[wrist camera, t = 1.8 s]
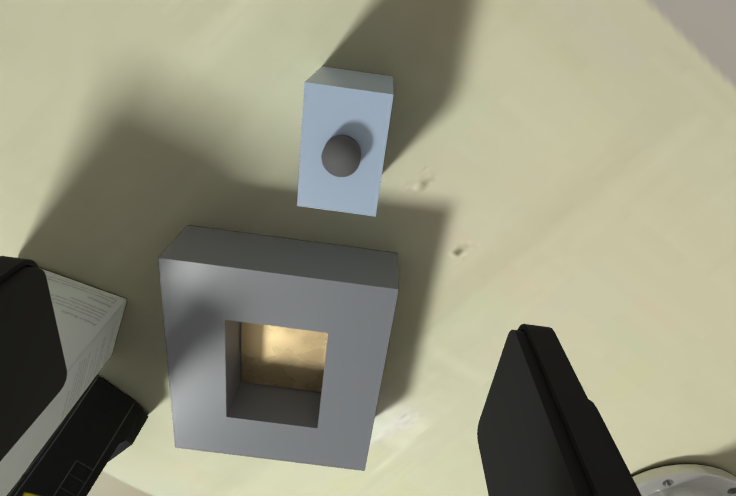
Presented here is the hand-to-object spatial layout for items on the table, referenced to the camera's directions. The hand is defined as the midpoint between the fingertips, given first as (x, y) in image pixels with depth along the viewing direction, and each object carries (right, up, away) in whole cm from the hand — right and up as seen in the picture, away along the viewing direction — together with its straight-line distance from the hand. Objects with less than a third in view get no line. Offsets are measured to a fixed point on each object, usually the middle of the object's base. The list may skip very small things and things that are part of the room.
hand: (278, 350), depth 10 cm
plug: (+1, +9, +18) cm, 20 cm away
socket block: (-4, -4, +25) cm, 26 cm away
